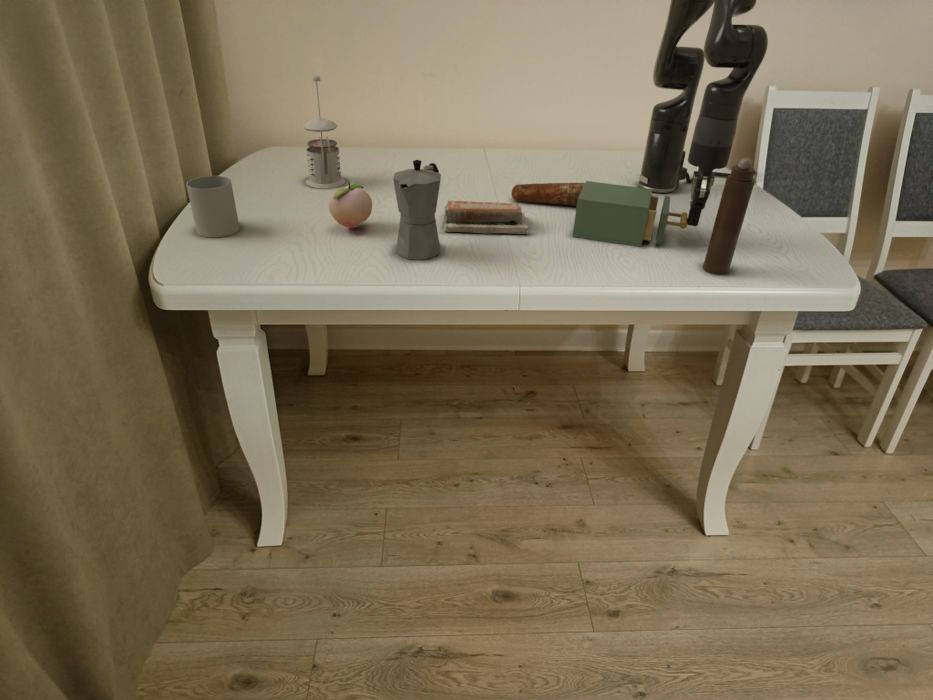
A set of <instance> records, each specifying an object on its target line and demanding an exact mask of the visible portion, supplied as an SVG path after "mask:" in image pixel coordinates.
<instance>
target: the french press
mask: <svg viewBox="0 0 933 700" xmlns="http://www.w3.org/2000/svg"><path fill="white" fill-rule="evenodd" d="M311 80H312V82H315V84H316V85H315V86H316V95H317V108H318V118H313V119H311V120H309V121H307V122H305V124H303V126H302V128H303V129H304V130H305V131H308V132H314V133H320V136H318V137H319V138H316V139H315V138H314V139H311V140H309V141H307V142H306V143H307V144H306V145H307V146H308V147H307V148H306V151H305V152H306V156H307V157H306V159H307V166H308V167H307V169H308V178H307V180H306V182H305V184H306V185H307V186H308V187H312V188H314V189H315V188H316V189H332V188H337V187H341V186H343V185H344V184H345V183H346V180H345V178H343V176H342V172H341V166H340V165H341V161H340V148H339V147H338V146H337V144H338V142H337V141H336V140H334V139H330V138H329V136H328V135H326V138H323V133H324V132H325V133H326V132H331V131H334V130H336V129H337V128H338V124H337V123H336V122H335V121H333V120H330V119H328V118H327V119H326V118H321V109H320V99H319V87H318V82H321V81H322V80H321V77H320V76H319V75H316V74H315V75H313V76H312V77H311ZM309 162H310V163H309Z"/></svg>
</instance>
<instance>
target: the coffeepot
mask: <svg viewBox="0 0 933 700" xmlns="http://www.w3.org/2000/svg"><path fill="white" fill-rule="evenodd" d="M412 164H413V168H408V169H404V170H400V171H397V172H394V174H393V177H392V181H393V187H394V192H395V198H396V204H397V210H398V212H399V214H400V217H399V226H398V231H397V232H398V233H397V240H396V247H395V253H396V254H397V255H398V256H400V257H402V258H404V259H407V260H414V261H424V260H429V259H432V258H435V257H437V256H438V255H439V254H440V253H441V251H440V250H441V245H440V238H439V233H438V227H437V226H438V225H437V220H436V213H437V206H438V199H439V193H440V187H441V181H442V180H441V179H442V173H440V172H439V171H440V170H439V168H438V165H437V164H436V163H435V162H431V163H429V164H428V165H424V166H423V168H421V167H422V160H420V159H414V160H412Z"/></svg>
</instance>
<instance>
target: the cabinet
mask: <svg viewBox="0 0 933 700" xmlns="http://www.w3.org/2000/svg"><path fill="white" fill-rule="evenodd" d="M584 183H585V185H584V187H583V189H582V191H581V193H580V195H579V197H578V201H577V206H576V208H575V215H574V224H573V231H572V237H573V238H580V239H587V240H593V241H600V242H607V243H613V244H621V245H626V246H634V247H640V248H641V247H642V245H643V242H644V240H643V236H644V231H645V226H646V221H647V216H648V211H649V206H650V200H651V195H652V193H653V192H652V189H647V188H640V187H639V186H638V187H637V186H630V185H623V184H614V183H606V182H600V181H599V182H598V181H589V180H586V181H585V182H584ZM652 196H653V195H652Z"/></svg>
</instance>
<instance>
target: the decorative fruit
mask: <svg viewBox="0 0 933 700" xmlns="http://www.w3.org/2000/svg"><path fill="white" fill-rule="evenodd" d="M328 210H329V212H330V214H331V217H332V218H333V219H334V221H336V222H337V223H338V224H339V225H341V226H343V227H345V228H348V229H354V228H355V227H358V226H359V225H361V224H363V223H364V222H366V221H367V220H368V219H369V218H370V216H371V214H372V211H373V200H372V198H371V195H370V194H369V193H368V192H367V191H366V190H365V188H364V186H363V185H361V184H359V183H351V182H350V181H348V182H347V186H344V187H342V188H339V189H337V190H336V191H335V192H334V193H333V194H332V196H331V197H330V199H329V202H328Z"/></svg>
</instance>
